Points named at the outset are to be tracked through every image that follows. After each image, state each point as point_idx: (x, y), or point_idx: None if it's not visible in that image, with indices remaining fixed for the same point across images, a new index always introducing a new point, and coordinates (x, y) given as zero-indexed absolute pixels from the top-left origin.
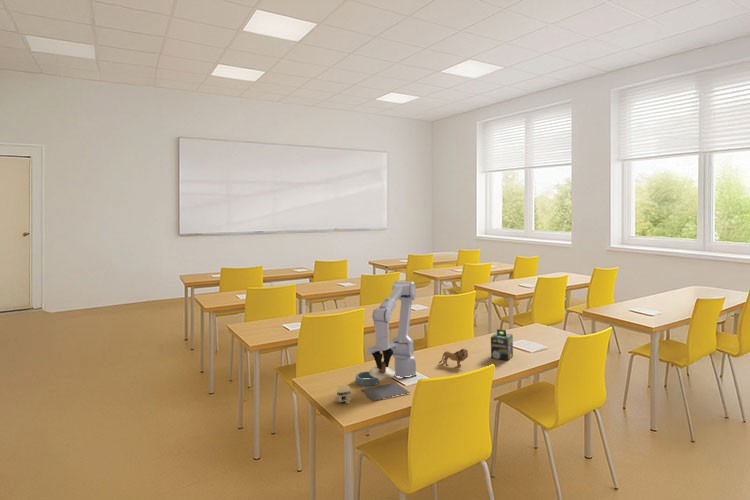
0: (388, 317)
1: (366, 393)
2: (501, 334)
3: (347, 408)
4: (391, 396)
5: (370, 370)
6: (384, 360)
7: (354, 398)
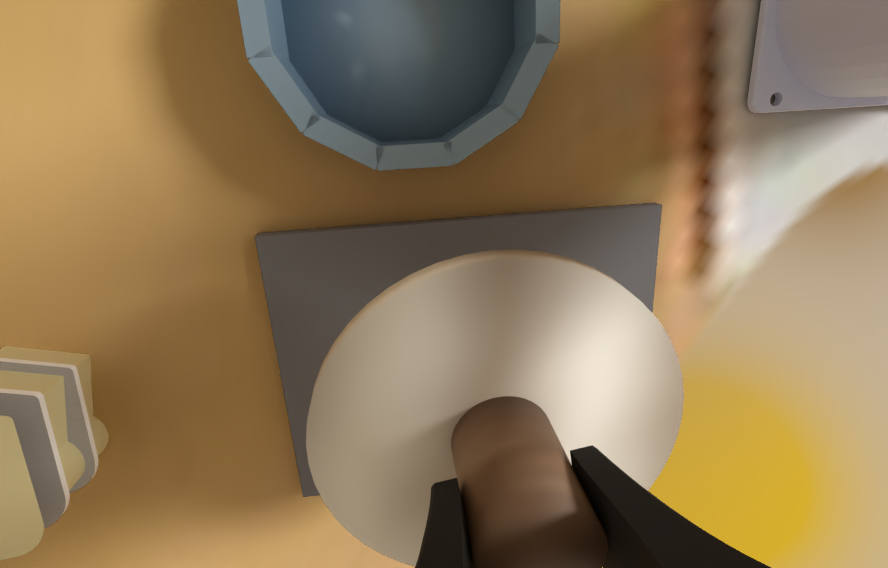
0: None
1: (286, 356)
2: None
3: (66, 532)
4: None
5: (345, 366)
6: (617, 530)
7: (158, 382)
